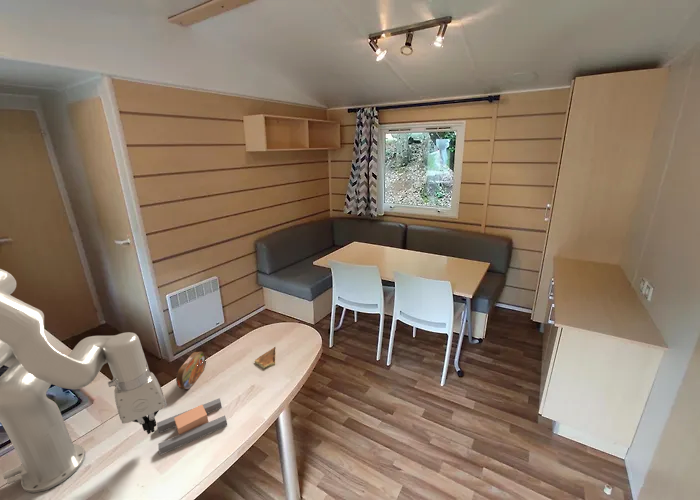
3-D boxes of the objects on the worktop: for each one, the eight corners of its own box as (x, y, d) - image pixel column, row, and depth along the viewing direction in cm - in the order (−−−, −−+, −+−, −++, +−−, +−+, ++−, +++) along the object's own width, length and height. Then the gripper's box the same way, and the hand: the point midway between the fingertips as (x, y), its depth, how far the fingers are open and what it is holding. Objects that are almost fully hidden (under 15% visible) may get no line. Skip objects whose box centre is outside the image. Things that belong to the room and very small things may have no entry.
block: (180, 440, 93) (178, 428, 92) (176, 429, 97) (174, 417, 95) (209, 425, 98) (207, 414, 96) (204, 415, 102) (202, 404, 100)
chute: (160, 454, 89) (158, 449, 88) (158, 428, 97) (156, 422, 96) (227, 425, 98) (226, 419, 97) (220, 403, 106) (219, 398, 105)
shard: (275, 349, 133) (275, 346, 133) (288, 356, 129) (287, 353, 128) (254, 363, 125) (253, 359, 125) (266, 371, 121) (266, 367, 120)
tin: (186, 394, 110) (181, 374, 107) (177, 394, 110) (172, 374, 107) (208, 365, 124) (204, 347, 121) (200, 364, 124) (196, 346, 121)
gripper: (96, 399, 77) (118, 453, 84) (166, 374, 85) (181, 426, 91) (99, 380, 83) (120, 432, 90) (164, 359, 91) (179, 408, 97)
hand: (151, 429), depth 90 cm, fingers closed
